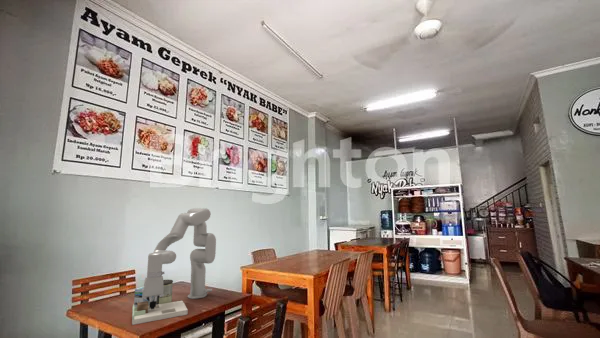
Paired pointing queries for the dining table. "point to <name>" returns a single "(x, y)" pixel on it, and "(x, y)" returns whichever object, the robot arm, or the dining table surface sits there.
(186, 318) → the dining table surface
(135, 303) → the light bulb box
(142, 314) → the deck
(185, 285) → the dining table surface
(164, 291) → the coffee can
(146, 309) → the walnut block
